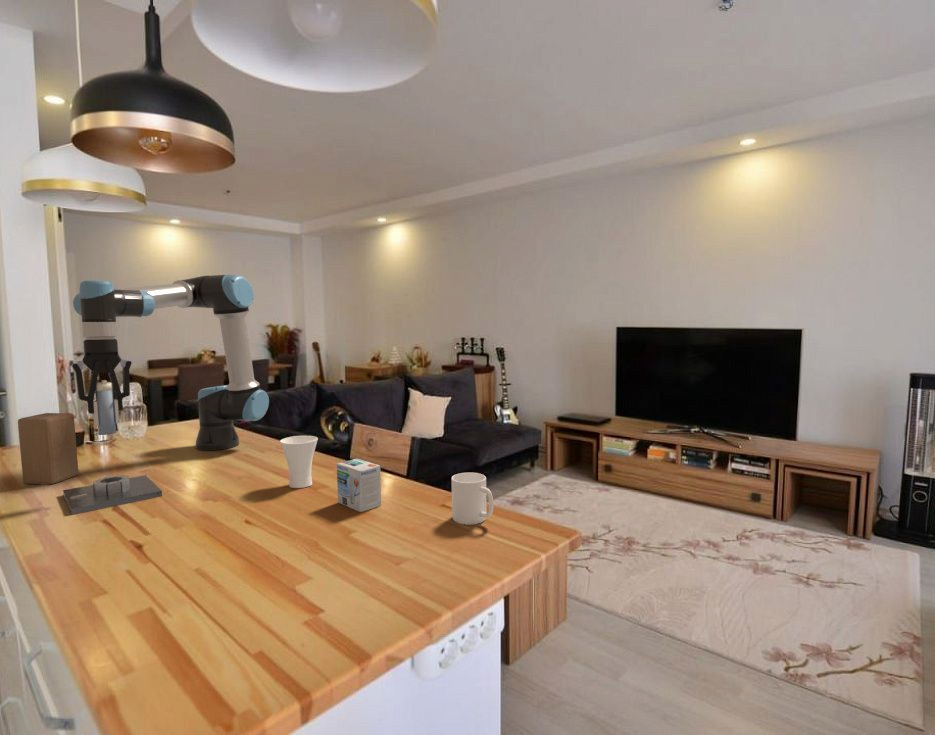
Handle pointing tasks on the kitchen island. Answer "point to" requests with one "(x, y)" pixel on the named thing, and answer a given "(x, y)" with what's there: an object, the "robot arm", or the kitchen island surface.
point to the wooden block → (48, 448)
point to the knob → (105, 408)
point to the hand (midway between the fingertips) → (106, 423)
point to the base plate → (110, 493)
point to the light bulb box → (359, 484)
